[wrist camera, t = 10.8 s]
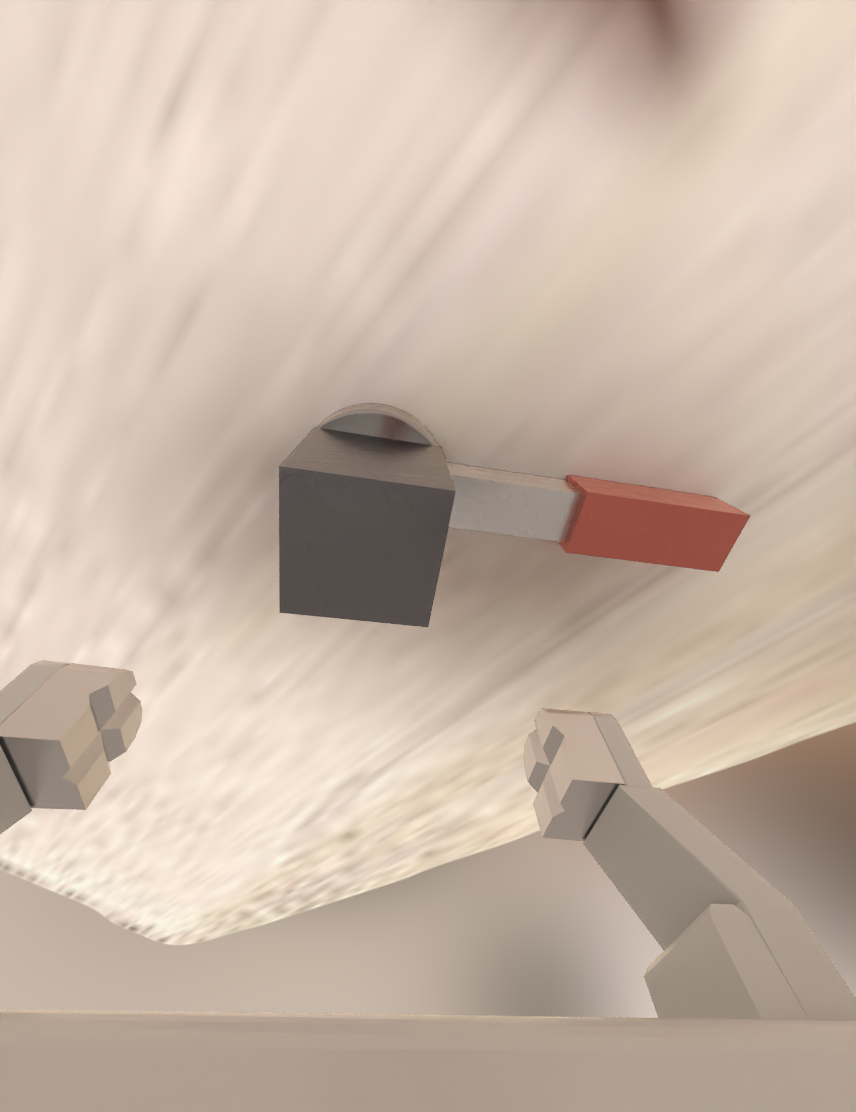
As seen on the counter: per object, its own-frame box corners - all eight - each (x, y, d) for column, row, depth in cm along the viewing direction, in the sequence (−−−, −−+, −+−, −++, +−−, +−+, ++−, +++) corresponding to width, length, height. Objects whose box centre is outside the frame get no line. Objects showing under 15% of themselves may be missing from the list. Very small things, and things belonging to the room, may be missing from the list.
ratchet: (732, 461, 23) (864, 513, 16) (673, 577, 27) (762, 658, 20) (304, 391, 20) (256, 419, 14) (301, 532, 24) (261, 608, 17)
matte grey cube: (440, 446, 19) (455, 491, 14) (421, 554, 21) (428, 627, 16) (315, 427, 18) (279, 466, 13) (311, 541, 21) (279, 612, 15)
